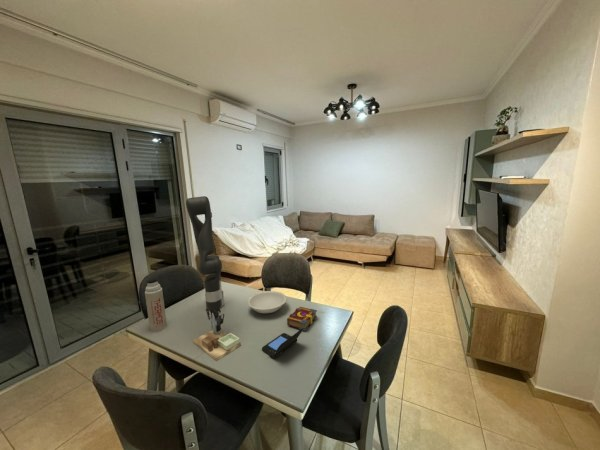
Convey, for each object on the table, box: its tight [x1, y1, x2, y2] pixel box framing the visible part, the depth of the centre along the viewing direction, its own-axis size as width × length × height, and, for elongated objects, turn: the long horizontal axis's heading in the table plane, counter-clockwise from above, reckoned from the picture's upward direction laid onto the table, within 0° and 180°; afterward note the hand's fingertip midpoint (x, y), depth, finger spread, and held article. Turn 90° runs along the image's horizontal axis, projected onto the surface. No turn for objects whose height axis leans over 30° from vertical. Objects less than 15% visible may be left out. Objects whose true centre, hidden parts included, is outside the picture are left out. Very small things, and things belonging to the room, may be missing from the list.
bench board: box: [192, 329, 241, 362], centre depth 118 cm, size 13×21×5 cm, turn 50°
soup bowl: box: [246, 290, 288, 314], centre depth 149 cm, size 24×24×7 cm
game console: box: [261, 329, 304, 359], centre depth 113 cm, size 16×14×9 cm
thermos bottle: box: [144, 278, 168, 333], centre depth 130 cm, size 8×8×28 cm
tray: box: [218, 332, 241, 351], centre depth 116 cm, size 7×7×2 cm
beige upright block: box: [202, 334, 219, 349], centre depth 116 cm, size 6×5×3 cm
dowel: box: [211, 316, 221, 335], centre depth 124 cm, size 4×4×10 cm
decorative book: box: [286, 306, 318, 332], centre depth 136 cm, size 11×16×5 cm
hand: (216, 329), depth 124 cm, fingers closed on dowel, 3 cm apart
